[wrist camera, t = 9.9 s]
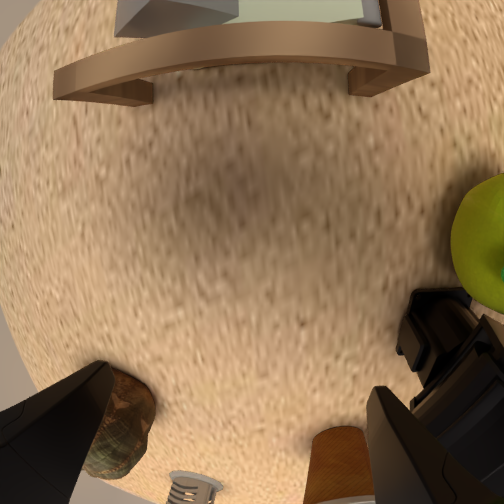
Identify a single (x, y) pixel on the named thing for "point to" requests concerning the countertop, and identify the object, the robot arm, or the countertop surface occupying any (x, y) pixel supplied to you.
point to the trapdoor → (311, 11)
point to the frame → (256, 54)
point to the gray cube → (170, 16)
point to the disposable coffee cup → (339, 469)
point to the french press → (192, 488)
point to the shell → (121, 430)
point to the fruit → (481, 243)
